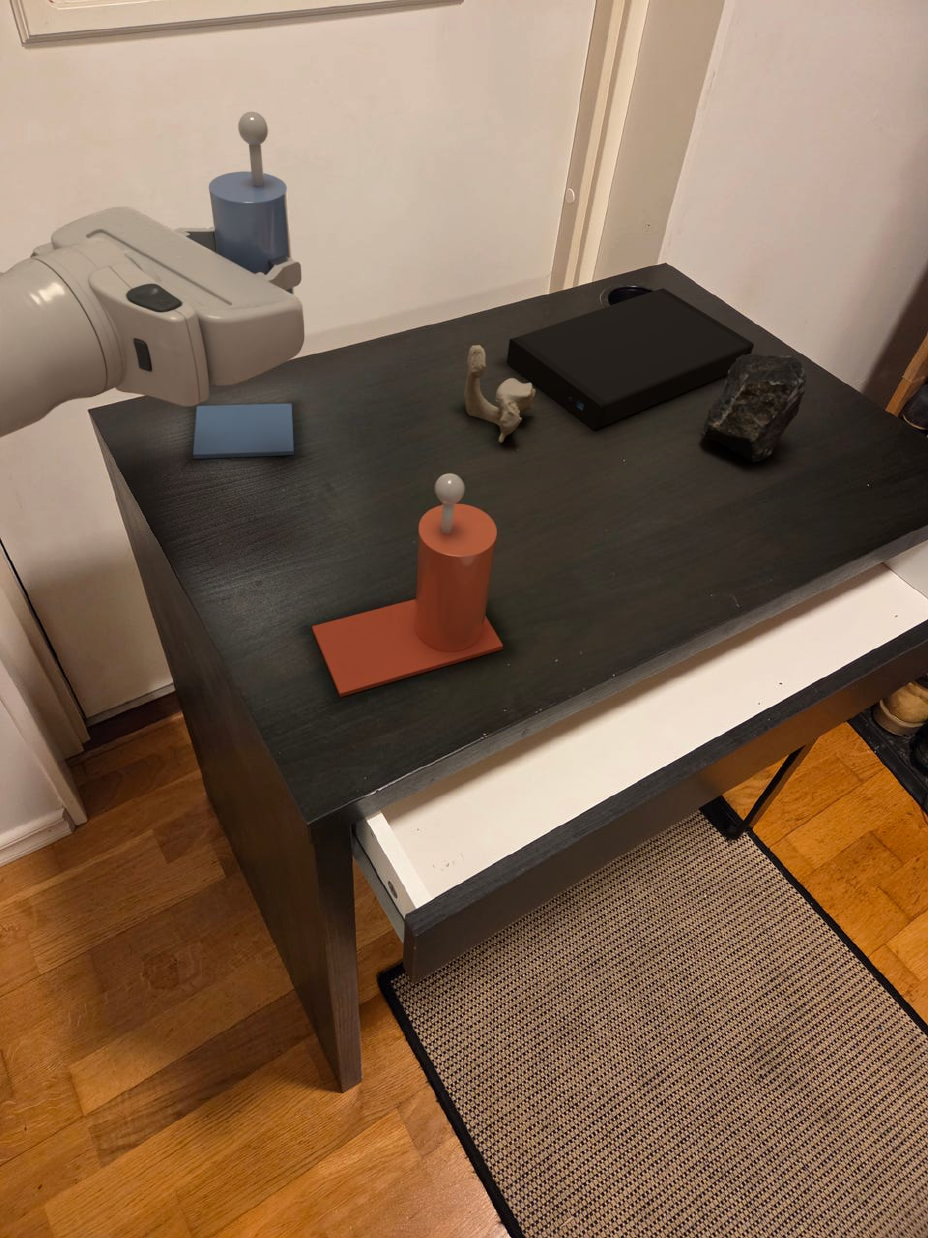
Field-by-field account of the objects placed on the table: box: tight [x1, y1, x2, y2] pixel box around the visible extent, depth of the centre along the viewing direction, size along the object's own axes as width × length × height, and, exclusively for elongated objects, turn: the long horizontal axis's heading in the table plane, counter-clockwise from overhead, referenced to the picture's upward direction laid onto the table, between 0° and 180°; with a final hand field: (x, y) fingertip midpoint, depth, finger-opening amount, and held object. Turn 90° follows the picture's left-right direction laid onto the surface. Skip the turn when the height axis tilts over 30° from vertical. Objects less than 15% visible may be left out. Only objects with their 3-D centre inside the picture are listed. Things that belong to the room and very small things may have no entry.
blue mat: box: [192, 403, 295, 460], centre depth 81 cm, size 9×8×1 cm
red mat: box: [311, 598, 504, 698], centre depth 65 cm, size 13×7×1 cm, turn 114°
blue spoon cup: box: [207, 110, 295, 295], centre depth 62 cm, size 5×5×15 cm
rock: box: [700, 352, 807, 463], centre depth 82 cm, size 8×7×10 cm
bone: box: [463, 344, 537, 444], centre depth 82 cm, size 9×6×10 cm
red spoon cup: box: [414, 473, 498, 652], centre depth 61 cm, size 5×5×15 cm
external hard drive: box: [506, 287, 755, 431], centre depth 93 cm, size 14×23×3 cm, turn 127°
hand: (264, 252), depth 64 cm, fingers closed on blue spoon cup, 5 cm apart
